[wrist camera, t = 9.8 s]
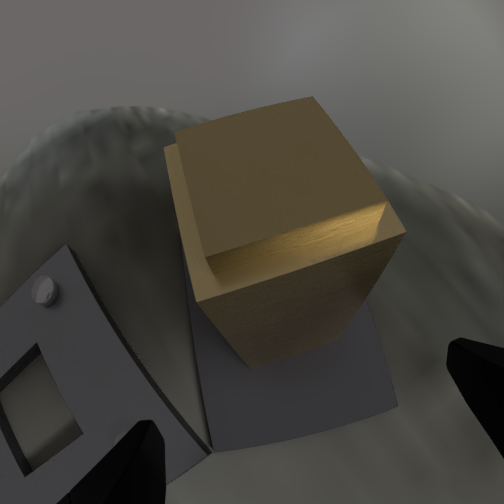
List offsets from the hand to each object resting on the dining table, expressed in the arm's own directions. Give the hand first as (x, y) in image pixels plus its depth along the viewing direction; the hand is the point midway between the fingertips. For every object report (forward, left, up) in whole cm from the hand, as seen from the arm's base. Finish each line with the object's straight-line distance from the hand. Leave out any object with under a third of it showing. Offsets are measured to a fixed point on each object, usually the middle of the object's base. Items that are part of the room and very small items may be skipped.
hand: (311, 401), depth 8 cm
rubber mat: (+4, -3, -8) cm, 10 cm away
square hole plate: (+9, +16, -8) cm, 21 cm away
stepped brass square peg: (+4, -3, -8) cm, 10 cm away
